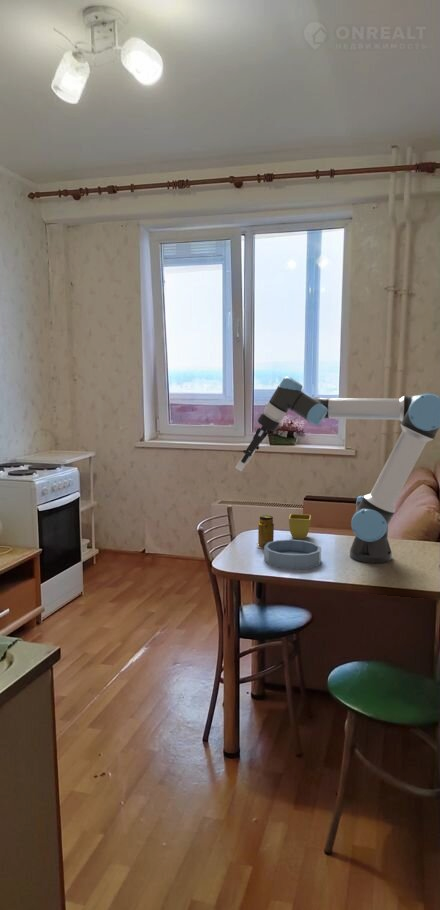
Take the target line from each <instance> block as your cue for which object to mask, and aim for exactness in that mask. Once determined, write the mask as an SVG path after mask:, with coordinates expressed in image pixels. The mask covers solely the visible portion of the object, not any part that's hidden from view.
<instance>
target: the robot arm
mask: <svg viewBox="0 0 440 910" xmlns="http://www.w3.org/2000/svg"><path fill="white" fill-rule="evenodd" d="M302 389H303V384H301V383H300V382H299V381H297V380H296V379H294V378H292V377H290V376H285V377H283V379H282V380H281V381H280V383H279V384H278V386H277V387H276V389H275V391H274V392H273V394H272V396H271V397H270V400H269V401H268V403H267V402H266V403H265V405H264V406H265V408H264V409H263V412H262V413H261V414H260V415H259V417H258V418H257V422H258V424H259V425H261V427H258V428H257V430H256V431H255V434H254V435H253V437H252V440H251V441H250V443H249V445H248V446H247V448H246V450H245V449H243V450H242V453H243V454H242V455H241V458H240V459H239V461H238V462H237V464H236V465H235V467H234V469H236V470H238V471H240V472H242V471H243V470H244V468H245V466H246V465H247V464H249V462H250V461H251V459H252V457H253V456H254V454H255V453H256V452H257V451H258V450H259V449H260V447H259V446H260V444H261V443H262V442H263V440H264V439H265V438H266V437H267V435H268V434H269V433H268V431H271V432H276V431H277V429H278V428H279V426H280V423H281V422H282V421H283V420H284V418H285V416H287V413H288V412H289V410H290V411H291V412H293V413H295V414H297V416H300V418H302V419H304V420H306V421H307V422H308V423H309V424H312V425H314V426H319V425H320V424H321V423H322V421H323V420H324V419H344V420H345V419H346V420H347V419H348V420H385V421H387V420H390V421H393V420H394V421H396V420H397V421H400V422H401V423H400V428H401V430H402V431H401V432H400V435H399V437H398V438H397V441H396V442H395V445H394V446H393V449H391V450H392V451H391V453H390V454H389V455H388V457H387V460H386V462H385V463H384V465H383V468H382V470H381V472H380V473H379V476H378V477H377V480H376V482H375V484H374V485H373V487H372V489H371V490H370V491H371V492H369V493H367V494H364V495H359V496H357V498H356V502H355V505H356V508H355V512H354V514H353V515H352V518H351V520H350V525H351V531H352V533H353V534H354V539H353V541H352V543H351V545H350V549H349V557H350V558H351V559H353V560H355V561H358V562H362V563H363V562H364V563H370V564H382V563H388V562H391V560H392V558H393V557H392V556H393V553H392V549H391V546H390V542H389V539H388V533H389V524H390V522H391V520H392V518H393V516H394V515H395V512H396V509H395V506H394V505H395V503H396V500H397V499H398V497H399V495H400V494H401V491H402V489H403V488H404V485H405V484H406V482H407V480H408V478H409V476H410V475H411V472H412V471H413V468H414V467H415V465H416V463H417V461H418V459H419V457H420V456H421V454H422V451H423V450H424V448H425V446H426V444H427V443H428V442H430V441H433V440H434V439H435V437H436V435H437V434H438V433H439V430H440V396H439V395H437V394H435V393H432V392H424V393H420V394H417V395H403V396H401V397H400V398H385V397H384V398H383V397H382V398H381V397H380V398H377V397H376V398H375V397H374V398H373V397H371V398H370V397H369V398H368V397H367V398H361V397H358V398H357V397H355V398H353V397H352V398H351V397H345V398H344V397H311V396H309V395H307V394H306V393H305V392H303V391H302Z"/></svg>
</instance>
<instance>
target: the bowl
mask: <svg viewBox="0 0 440 910" xmlns="http://www.w3.org/2000/svg"><path fill="white" fill-rule="evenodd" d="M263 549H264V550H263V560H264V562H265V563H267V564H268V565H270V566H273V567H276V568H279V569H287V570H288V569H289V570H303V569H304V570H305V569H306V570H307V569H312V568H315V567H317V566H320V565H321V562H322V546H320V545H319V544H317V543H314V542H311V541H308V540H301V539H280V540H279V539H277V540H273V541H272V542H268V543H267V544H266V545H265V546H264V548H263Z"/></svg>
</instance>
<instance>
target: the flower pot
mask: <svg viewBox="0 0 440 910" xmlns="http://www.w3.org/2000/svg"><path fill="white" fill-rule="evenodd" d="M311 519H312V515H311V514H304V513H303V514H301V513H290V514H289V517H288V529H289V532H290V535H291V536H292V538H293V539H298V540H301V539H303V540H305V539H306V538H307V536H308V534H309V531H310V526H311Z"/></svg>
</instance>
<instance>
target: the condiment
mask: <svg viewBox="0 0 440 910" xmlns="http://www.w3.org/2000/svg"><path fill="white" fill-rule="evenodd" d="M258 520H259V523H258V531H257V532H258V533H257V534H258V536H257V538H258V539H257V541H258V542H257V543H256V544H257V545H258V544H259V545H258V546H257V545H256V546H257V547H256V548H257V549H264V546H265V545H266V544H267V543H268V542H272V541H274V537H275V536H274V534H275V533H274V531H275V530H274V529H275V524H274V517H273V516H272V515H267V514H264V515H260V516H259V519H258Z"/></svg>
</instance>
